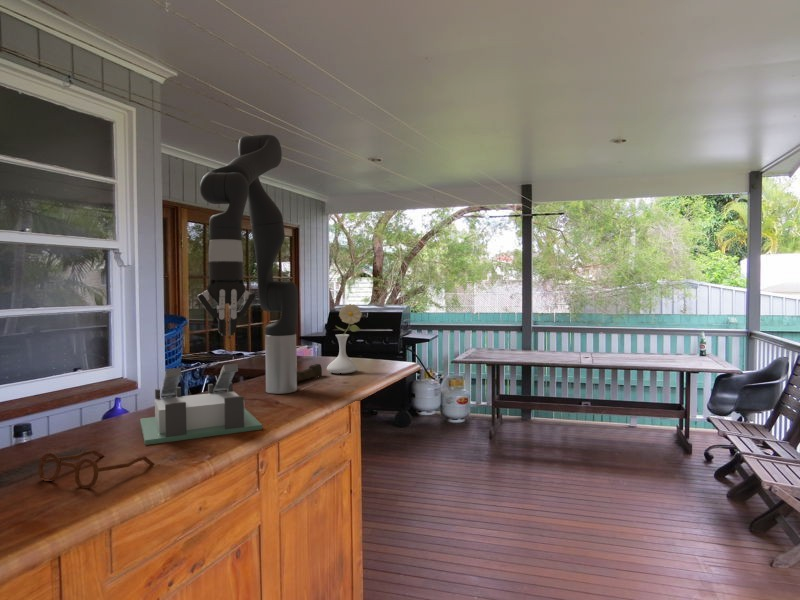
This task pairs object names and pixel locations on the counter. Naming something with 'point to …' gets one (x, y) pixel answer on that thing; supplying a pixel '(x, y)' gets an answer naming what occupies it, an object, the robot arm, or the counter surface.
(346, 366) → the flower in vase
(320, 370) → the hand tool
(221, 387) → the strap
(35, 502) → the counter surface
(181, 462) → the counter surface
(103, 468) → the glasses
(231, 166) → the robot arm
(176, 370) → the strap
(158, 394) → the base
